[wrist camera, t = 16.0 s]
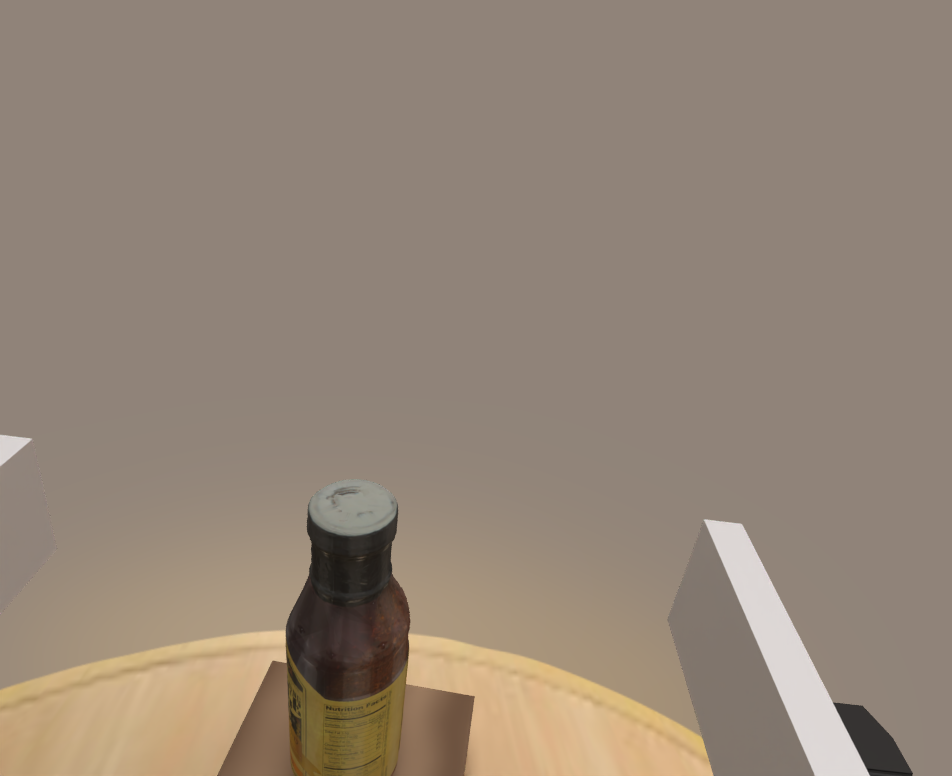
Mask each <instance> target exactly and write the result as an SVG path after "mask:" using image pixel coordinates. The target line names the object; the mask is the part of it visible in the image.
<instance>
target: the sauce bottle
mask: <svg viewBox="0 0 952 776" xmlns="http://www.w3.org/2000/svg"><path fill="white" fill-rule="evenodd" d="M397 518H398V504H397V502H396V499H395V497H394V496H393V494H392V493H391V492H389V491H388V490H387V489H386V488H384V487H383V486H381V485H380V484H377V483H374V482H370V481H366V480H354V479H352V480H342V481H339V482H335V483H333V484H330V485H328V486H326V487H325V488H323V489H321V490H320V491H318V492H317V493H316V494H315V495H314V496H313V497H312V498H311V500H310V502H309V505H308V518H307V532H308V535H309V537H310V540H311V543H312V547H311V553H312V558H311V562H312V563H311V565H310V568H309V576H308V579H307V581H306V583H305V586H304V588H303V590H302V592H301V594H300V596H299V598H298V600H297V602H296V604H295V606H294V607H293V610H292V611H291V613H290V616H289V619H288V621H287V625H286V658H287V685H288V712H289V739H290V763H291V768H292V771H293V774H294V776H393V773H394V771H395V768H396V765H397V761H398V753H399V749H400V740H401V730H402V721H403V709H404V699H405V687H406V677H407V667H408V656H409V640H408V632H409V628H410V627H409V626H410V614H409V613H410V612H409V607H408V602H407V598H406V596H405V594H404V591H403V589H402V588H401V587H400V585H399V583H398V582H397V581H396V580H395V578H394V577H393V575H392V564H391V546H392V541H393V540H394V538H395V535H396V531H397Z"/></svg>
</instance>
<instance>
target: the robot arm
mask: <svg viewBox="0 0 952 776" xmlns="http://www.w3.org/2000/svg"><path fill="white" fill-rule="evenodd" d="M56 550H57V547H56V542H55V538H54V533H53V528H52V524H51V520H50V515H49V511H48V507H47V502H46V497H45V492H44V488H43V484H42V479H41V475H40V470H39V465H38V461H37V457H36V452H35V448H34V443H33V439H30V438H21V437H13V436H5V435H0V614H1V613H2V612H3V611H4V610H5V608H6V607H7V606H8V605H9V604H10V603H11V602H12V601H13V599H14V598H15V597H16V596H17V595H18V593H19V592H20V591H21V590H22V589H23V588H24V586H25V585H26V584H27V583H28V582H29V581H30V580H31V579H32V578H33V576H34V575H35V574H36V573H37V572H38V571H39V569H40V568H41V567H42V566H43V565H44V564H45V563H46V561H47V560H48V559H49V558H50V557H51V556H52V555H53V553H54V552H55V551H56ZM668 622H669V626H670V629H671V633H672V636H673V639H674V643H675V646H676V650H677V653H678V656H679V659H680V663H681V666H682V670H683V673H684V676H685V680H686V683H687V687H688V690H689V694H690V697H691V700H692V704H693V707H694V710H695V714H696V717H697V720H698V724H699V727H700V731H701V734H702V738H703V741H704V744H705V748H706V751H707V755H708V758H709V761H710V765H711V768H712V771H713V775H714V776H912V774H913V773H912V771H911V769H910V768H909V766H908V764H907V762H906V761H905V759H904V757H903V755H902V754H901V752H900V750H899V748H898V747H897V745H896V743H895V741H894V739H893V738H892V737H891V736H890V735H889V733H888V732H886V730H885V729H884V728H883V727H882V726H881V725H880V724H879V723H878V722H877V721H876V720H875V719H874V718H873V716H872V715H870V713H869V712H868V711H867V710H866V709H865V708H864V707H863V706H859V705H850V704H841V703H833V702H832V700H831V698H830V696H829V694H828V692H827V690H826V689H825V687H824V685H823V683H822V681H821V679H820V677H819V675H818V673H817V671H816V669H815V667H814V665H813V663H812V661H811V659H810V657H809V655H808V653H807V651H806V649H805V647H804V645H803V643H802V641H801V639H800V637H799V635H798V633H797V631H796V630H795V628H794V626H793V624H792V622H791V620H790V618H789V616H788V614H787V612H786V610H785V608H784V606H783V604H782V602H781V600H780V598H779V596H778V594H777V592H776V590H775V588H774V586H773V585H772V582H771V580H770V578H769V576H768V574H767V573H766V571H765V568H764V567H763V565H762V563H761V561H760V559H759V557H758V555H757V553H756V551H755V549H754V547H753V545H752V543H751V541H750V539H749V537H748V535H747V533H746V531H745V529H744V527H743V525H742V524H738V523H730V522H721V521H713V520H705V519H704V520H703V523H702V526H701V529H700V532H699V534H698V537H697V540H696V543H695V545H694V548H693V551H692V553H691V556H690V559H689V562H688V564H687V567H686V570H685V573H684V575H683V578H682V581H681V584H680V586H679V589H678V592H677V595H676V597H675V600H674V603H673V606H672V608H671V611H670V614H669V617H668Z"/></svg>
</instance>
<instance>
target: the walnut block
mask: <svg viewBox="0 0 952 776" xmlns="http://www.w3.org/2000/svg"><path fill="white" fill-rule="evenodd" d="M474 697H475V696H469V695H463V694H458V693H452V692H446V691H441V690H435V689H429V688H424V687H418V686H412V685H407V684H406V687H405V699H404V709H403V721H402V730H401V740H400V749H399V753H398V761H397V765H396V768H395V771H394V773H393V776H464V771H465V764H466V756H467V749H468V742H469V734H470V727H471V719H472V712H473V704H474ZM217 776H294V774H293V771H292V768H291V763H290V739H289V712H288V685H287V663H282V662H277V661H272V663H271V665H270V667H269V669H268V671H267V674H266V676H265V678H264V680H263V682H262V684H261V686H260V688H259V690H258V692H257V694H256V696H255V698H254V701H253V703H252V705H251V707H250V709H249V711H248V713H247V715H246V717H245V719H244V721H243V723H242V725H241V727H240V730H239V732H238V734H237V736H236V738H235V740H234V742H233V744H232V746H231V748H230V750H229V752H228V754H227V756H226V759H225V761H224V763H223V765H222V767H221V769H220V771H219V773H218V775H217Z"/></svg>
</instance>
